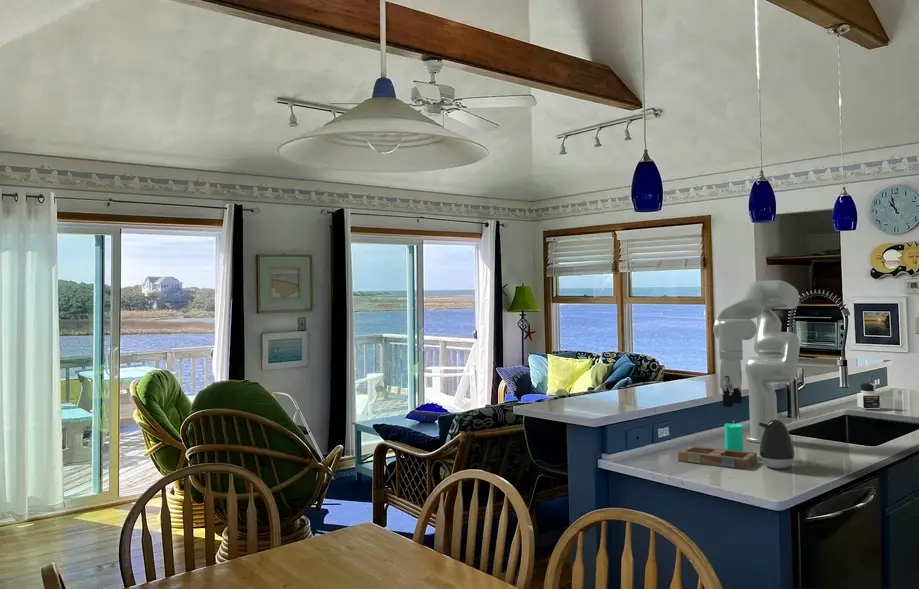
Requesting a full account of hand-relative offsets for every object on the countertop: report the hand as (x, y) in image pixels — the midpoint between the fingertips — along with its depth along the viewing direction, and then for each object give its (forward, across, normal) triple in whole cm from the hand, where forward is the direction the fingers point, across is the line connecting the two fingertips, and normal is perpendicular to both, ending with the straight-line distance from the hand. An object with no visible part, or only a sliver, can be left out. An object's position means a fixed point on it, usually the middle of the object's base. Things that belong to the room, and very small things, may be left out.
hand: (732, 404), depth 237 cm
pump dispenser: (+18, +9, +16) cm, 26 cm away
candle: (+18, 0, 0) cm, 18 cm away
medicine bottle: (+16, -124, +24) cm, 128 cm away
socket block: (+18, +12, -2) cm, 21 cm away
